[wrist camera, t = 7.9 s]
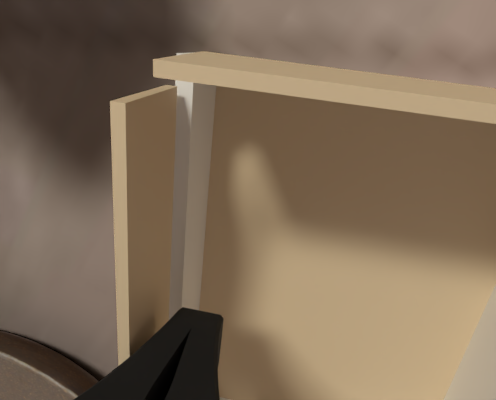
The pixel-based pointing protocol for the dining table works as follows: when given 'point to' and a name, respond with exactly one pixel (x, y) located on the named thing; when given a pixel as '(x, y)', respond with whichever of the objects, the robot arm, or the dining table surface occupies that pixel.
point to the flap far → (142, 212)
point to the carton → (336, 246)
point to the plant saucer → (38, 372)
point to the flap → (332, 84)
